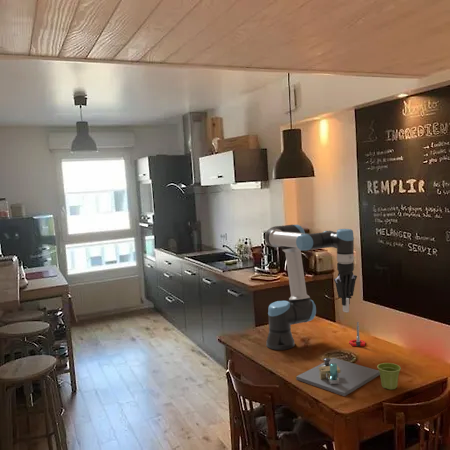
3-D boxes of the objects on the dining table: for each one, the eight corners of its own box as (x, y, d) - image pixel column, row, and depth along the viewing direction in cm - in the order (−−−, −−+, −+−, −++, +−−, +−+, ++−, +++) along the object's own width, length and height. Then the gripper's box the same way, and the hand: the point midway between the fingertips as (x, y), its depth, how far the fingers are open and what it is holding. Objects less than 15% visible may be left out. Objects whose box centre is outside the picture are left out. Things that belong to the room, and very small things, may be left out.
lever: (320, 366, 221) (320, 350, 220) (331, 366, 221) (330, 349, 220) (328, 384, 202) (328, 366, 201) (340, 383, 202) (340, 365, 201)
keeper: (318, 376, 211) (318, 366, 211) (337, 374, 212) (337, 365, 211) (321, 380, 206) (321, 371, 206) (340, 379, 207) (340, 370, 206)
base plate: (296, 379, 213) (296, 376, 212) (333, 360, 232) (333, 357, 232) (344, 396, 194) (344, 392, 194) (380, 374, 214) (380, 371, 214)
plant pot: (374, 383, 205) (373, 363, 205) (395, 381, 206) (394, 361, 205) (383, 392, 196) (382, 372, 195) (405, 390, 197) (404, 370, 196)
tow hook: (348, 341, 259) (350, 346, 250) (347, 318, 259) (349, 322, 249) (364, 341, 258) (366, 346, 249) (363, 318, 257) (366, 322, 248)
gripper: (341, 265, 214) (341, 316, 216) (361, 261, 220) (361, 310, 223) (329, 263, 220) (330, 312, 223) (349, 259, 227) (349, 307, 230)
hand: (345, 311), depth 223 cm, fingers closed
